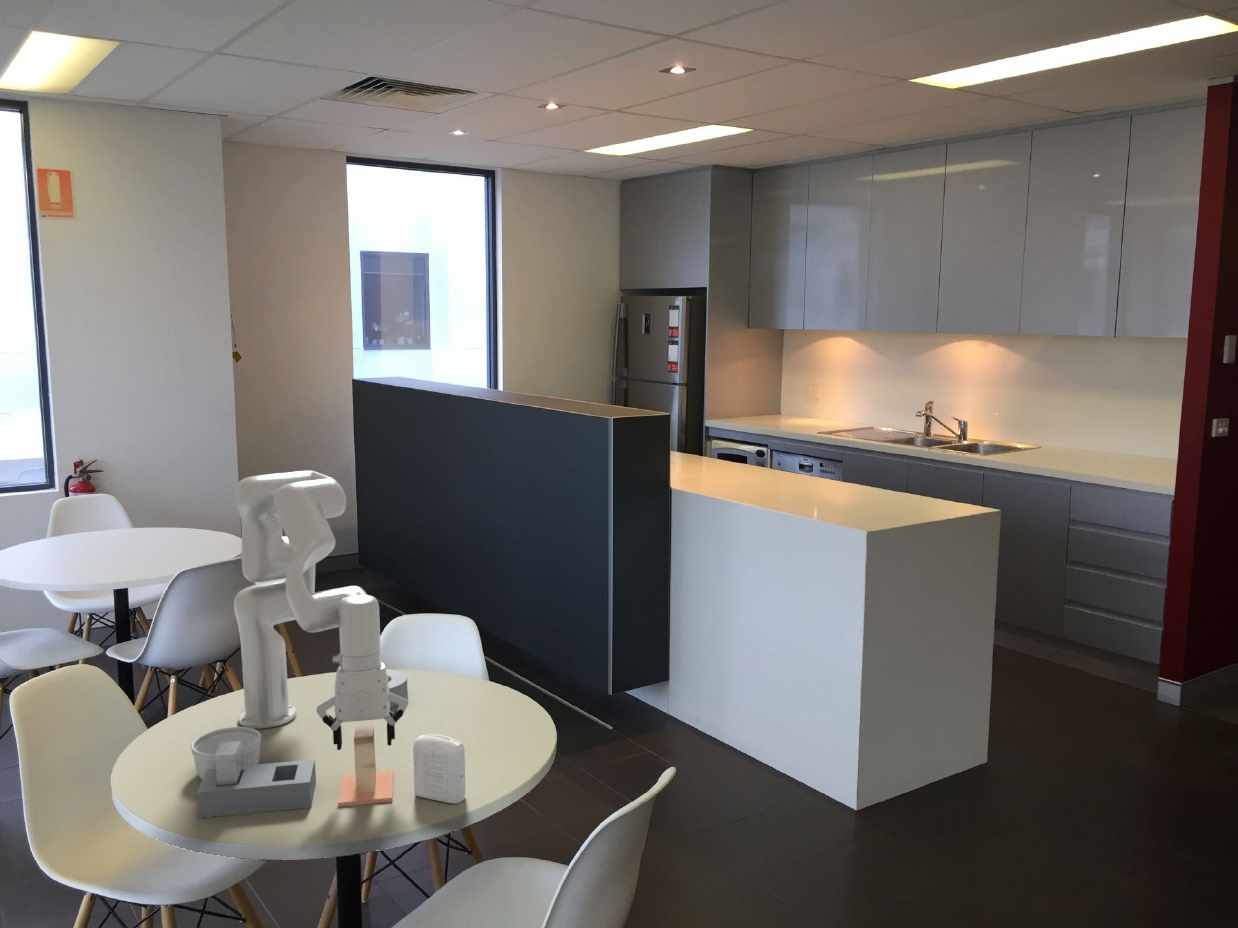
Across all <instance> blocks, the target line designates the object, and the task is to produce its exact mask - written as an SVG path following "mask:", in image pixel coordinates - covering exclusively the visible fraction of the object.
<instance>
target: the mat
mask: <svg viewBox="0 0 1238 928" xmlns="http://www.w3.org/2000/svg"><path fill="white" fill-rule="evenodd" d="M394 775H395V774H394V769H389V770H378V771H376V786H375V792H369V793H359V794H356V775H355V773H354V772H353V773H345V774H342V775H341V780H340V786H339V794H338V799H337V800H338V801H337V807H339V808H340V807H349V806H350V807H351V806H352V807H353V806H361V805H369V804H379V803H391V802H393V795H394V794H393V793H394Z"/></svg>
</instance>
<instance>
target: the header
mask: <svg viewBox="0 0 1238 928" xmlns="http://www.w3.org/2000/svg"><path fill="white" fill-rule="evenodd" d="M242 771H243V774H242V777H241V780H240V782H239V785H231V786H220V787H217V775H216V768H212V769H207V771H206V773H205V775H204V778H203V780H202V779H201V782H200V785H199V787H198V789H197V791H196V802H197V804H196V805H197V806H196V807H197V818H198V817H206V818H210V817H209V816H216V817H223V816H222V815H226V816H232V815H231V814H236V815H245V814H255V813H264V812H273V811H285V810H295V809H296V810H297V809H304V808H312V805H313V799H314V794H315V789H316V784H317V777H316V773H317V772H316V759H314V758H312V759H302V760H292V761H283V762H269V763H259V764H256V765H245V766H242Z"/></svg>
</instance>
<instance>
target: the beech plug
mask: <svg viewBox="0 0 1238 928" xmlns="http://www.w3.org/2000/svg"><path fill="white" fill-rule="evenodd" d="M353 746H354V747H353V751H354V770H355V771H354V772H355V775H356V794H359V793H369V792H375V786H376V747H375V746H376V743H375V725H364V726H355V727H354V735H353Z"/></svg>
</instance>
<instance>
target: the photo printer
mask: <svg viewBox="0 0 1238 928" xmlns="http://www.w3.org/2000/svg"><path fill="white" fill-rule="evenodd" d="M412 749H413V752H412V753H413V782H414V783H413V786H414V787H413V789H414V795H415V796H417V797H420V798H424V799H429V800H434V801H439V802H443V803H446V804H447V803H449V804H454V805H456V804H460V803H462V802H463V801H464V800H465V796H466V768H465V767H466V766H465V765H466V764H465V763H466V761H465V760H466V759H465V758H466V757H465V756H466V755H465V752H466V751H465V746H464V744H463V743H462V742H460V741H459V740H457V739H455V738H452V737H449V736H446V735H441V734H431V733H429V734H422V735H419V736H418V737H416V738H415V741H414V743H413V748H412Z"/></svg>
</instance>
